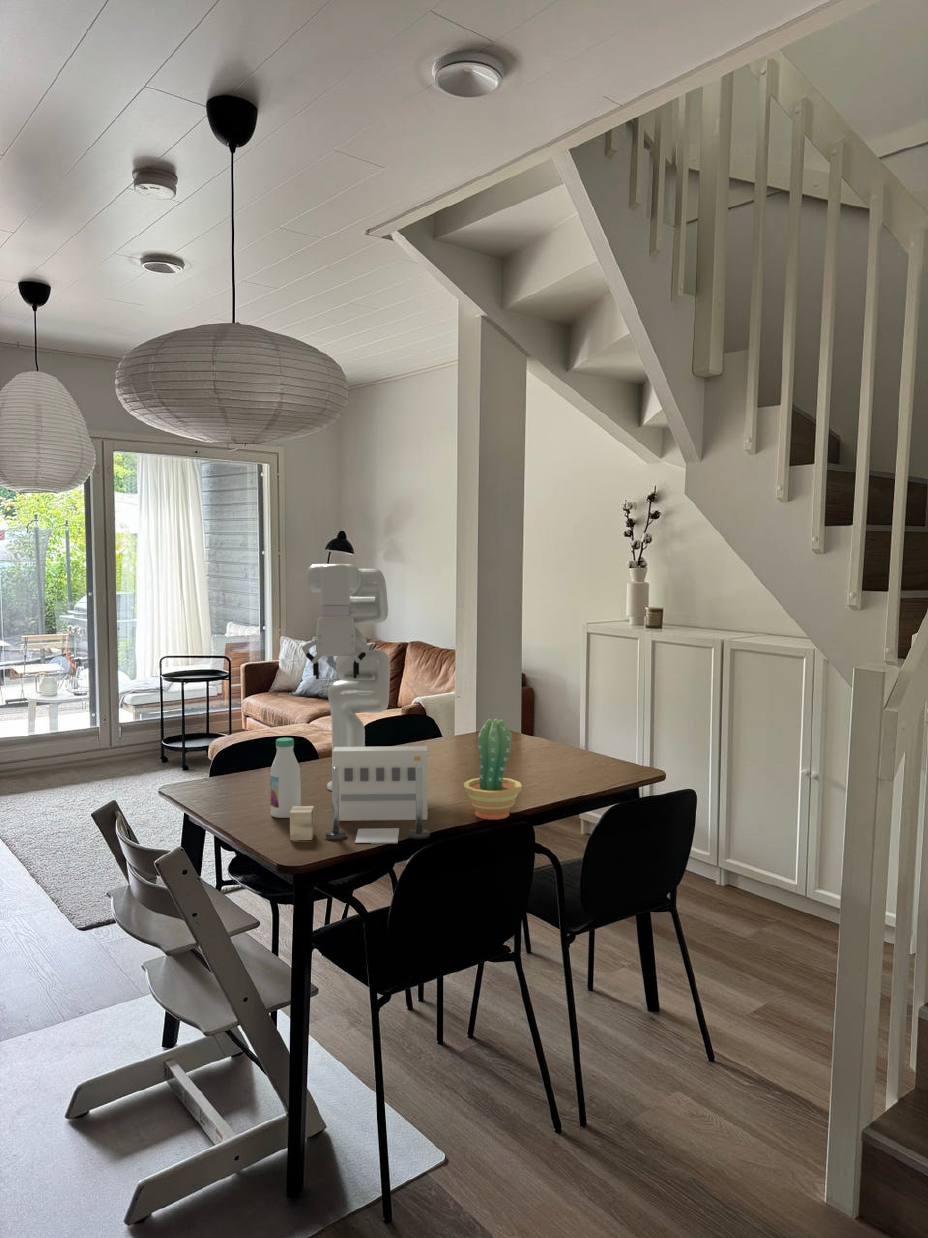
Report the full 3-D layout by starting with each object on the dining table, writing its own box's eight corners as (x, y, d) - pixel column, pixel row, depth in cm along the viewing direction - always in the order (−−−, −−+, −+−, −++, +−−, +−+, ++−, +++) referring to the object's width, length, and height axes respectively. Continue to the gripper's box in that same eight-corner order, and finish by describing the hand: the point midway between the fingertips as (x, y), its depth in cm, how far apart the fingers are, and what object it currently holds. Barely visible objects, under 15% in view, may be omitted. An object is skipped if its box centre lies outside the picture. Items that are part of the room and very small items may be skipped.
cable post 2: (409, 833, 210) (408, 764, 209) (429, 832, 210) (429, 764, 209) (408, 839, 205) (408, 769, 204) (429, 839, 205) (429, 769, 204)
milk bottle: (303, 810, 229) (302, 735, 228) (298, 818, 221) (297, 742, 220) (273, 810, 229) (272, 736, 227) (268, 819, 221) (267, 742, 220)
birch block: (293, 834, 209) (293, 806, 208) (314, 834, 209) (313, 806, 208) (290, 841, 204) (289, 812, 203) (311, 841, 204) (311, 812, 203)
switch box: (335, 815, 225) (334, 746, 223) (427, 813, 226) (427, 746, 224) (333, 821, 219) (332, 752, 218) (427, 820, 220) (427, 751, 219)
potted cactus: (533, 813, 226) (534, 719, 224) (496, 827, 214) (496, 728, 213) (488, 802, 236) (489, 712, 234) (450, 815, 225) (450, 720, 223)
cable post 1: (326, 834, 209) (325, 765, 208) (347, 833, 209) (346, 765, 208) (324, 840, 204) (323, 770, 203) (345, 840, 204) (344, 770, 203)
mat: (358, 830, 212) (358, 828, 212) (399, 829, 212) (399, 828, 212) (355, 843, 202) (354, 842, 202) (397, 843, 202) (397, 841, 202)
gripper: (368, 611, 227) (368, 675, 228) (301, 611, 224) (302, 677, 225) (370, 612, 220) (370, 679, 221) (301, 612, 217) (302, 680, 218)
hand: (336, 678), depth 223 cm, fingers open, 9 cm apart
